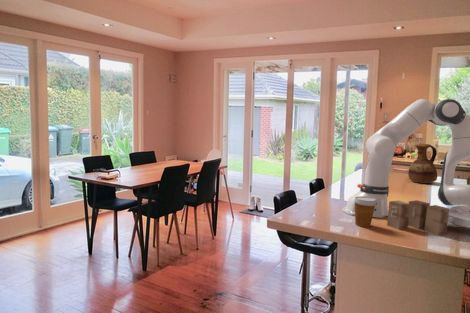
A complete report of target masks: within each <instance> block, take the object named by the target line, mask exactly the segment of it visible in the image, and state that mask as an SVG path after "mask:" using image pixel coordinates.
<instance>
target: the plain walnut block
mask: <svg viewBox="0 0 470 313" xmlns="http://www.w3.org/2000/svg"><path fill="white" fill-rule="evenodd" d="M449 209H450V208H449V207H444V206H441V205H437V204H435V205H434V204H433V205H429V206H427V213H426V222H425V228H424V232H426V233H429V234H432V235H434V236H442V235H443V236H444V235H446V234H447V231H448V224H449V222H448V216H449Z"/></svg>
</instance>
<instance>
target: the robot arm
mask: <svg viewBox="0 0 470 313" xmlns="http://www.w3.org/2000/svg"><path fill="white" fill-rule="evenodd" d="M426 122H430V123H431V124H432V123H433V124H434V125H435V126H436V125H437V126H440V127H443V126H448V127H449V128H450V129H451V130H450V131H451V139H452V140H451V145H450V147H449V150H448V151H447V152H446V153H445V154H444V159H443V162H442V163H443V164H442V172H441V178H440V185H439V188H438V192H437V198H438V200H439V201H440V202H441V203H442V204H443V205H444V206H451V207H450V208H449V216H448V224H449V223H450V224H451V225H453V226H456V227H464V228H468V229H470V184H454V180H455V172H456V167H457V165H458V164H460V163H461V162H463V161H466V160H468V159H470V114H466V111H465V109H464V108H463V106H462V105H461V104H460V102H459V101H458V100H455V99H453V98H447V99H443V100H441V101H439V102H437V103H435V104H434V103H432V102H430V101H429V100H428V99H426V98H425V99H424V98H420V99H417V100H415V101H414V102H412V103H411V104H409V105H408V106H407V107H406V108H404V109H403V110H402V111H401V112H400V113H399V114H397V115H396V116H395V117H394V118H393V119H391V121H389V122H387V124H386V125H384V126H383V127H381V128H380V129H378V130H377V131H375V133H374V134H372V135H371V136H370V137H368V138H367V140H366V141H365V142H366V143H365V149H366V151H367V153H368V154H369V155H368V159H367V164H366V168H365V174H364V183H363V184H361V183H357V185H356V186H357V188H358V189H359V191H358V192H356V193H355V194H353V195H351V196H349V198H348V199H347V203H346V206H341V211H342V212H343V213H345V214H347V215H351V216H355V203H354V199H355V197H357V196H364V197H371V198H374V199H376V205H375V208H374V212H373V217H372V218H381V219H382V218H383V219H384V218H385V217H388V210H389V204H388V197H389V192H390V190H389V189H390V187H389V186H390V185H389V183H390V182H389V179H390V171H391V166H392V164H393V161H394V160H393V159H394V155H395V152H396V150H397V149H396V147H397V145H398V144H400V143H401V142H403V141H404V140H406V139H408V138H409V137H410V136H411V135H412V134H413V133H415V132H416V131H417V130H418V129H419V128H420V127H422V126H423V125H424V124H426Z"/></svg>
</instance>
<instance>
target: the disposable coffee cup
mask: <svg viewBox="0 0 470 313" xmlns="http://www.w3.org/2000/svg"><path fill="white" fill-rule="evenodd" d="M354 203H355V215H354V218H355V219H354V220H355V225H356V226H357V227H361V228H370V227H371V225H372V221H373V218H374V217H373V212H374V208H375V205H376V199H374V198H371V197H364V196H357V197H355V199H354Z"/></svg>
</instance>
